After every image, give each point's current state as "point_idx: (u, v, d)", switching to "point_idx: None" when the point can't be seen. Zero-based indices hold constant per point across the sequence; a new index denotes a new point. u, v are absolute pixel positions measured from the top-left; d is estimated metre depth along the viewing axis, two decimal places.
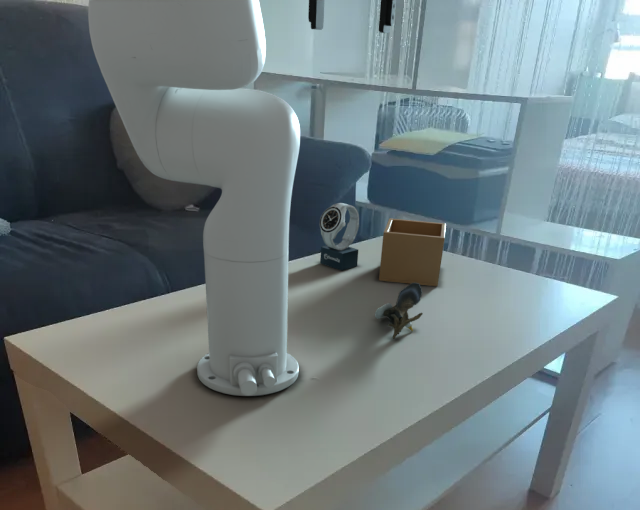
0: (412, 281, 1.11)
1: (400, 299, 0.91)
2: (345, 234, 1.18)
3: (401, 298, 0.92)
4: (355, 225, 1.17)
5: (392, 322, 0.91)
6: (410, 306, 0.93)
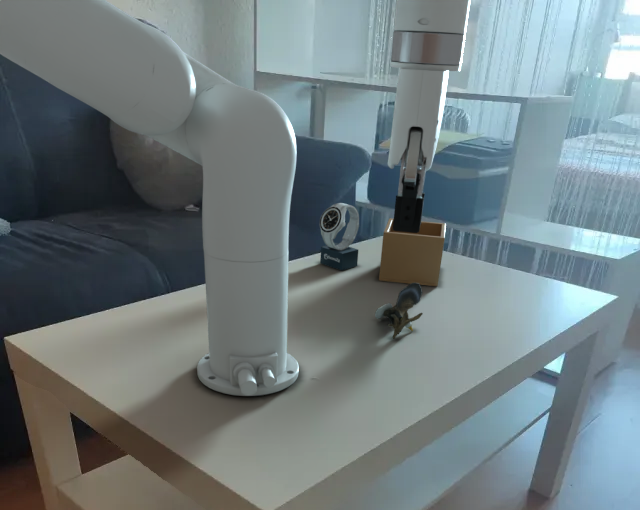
0: (412, 281, 1.11)
1: (400, 299, 0.91)
2: (345, 234, 1.18)
3: (401, 298, 0.92)
4: (355, 225, 1.17)
5: (392, 322, 0.91)
6: (410, 306, 0.93)
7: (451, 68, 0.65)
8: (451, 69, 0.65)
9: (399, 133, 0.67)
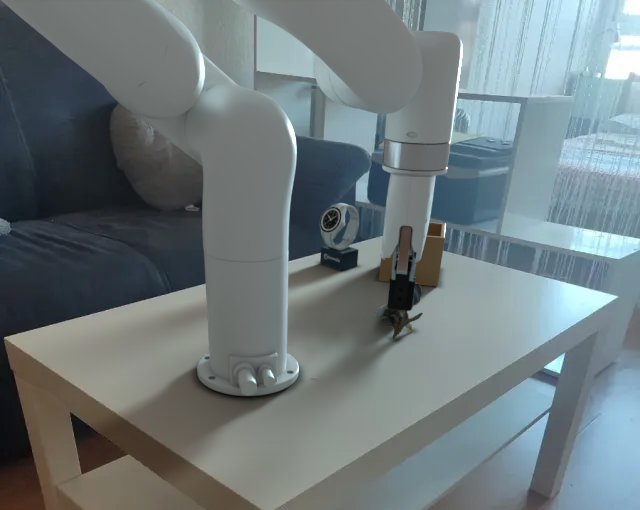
0: None
1: None
2: (345, 234, 1.18)
3: None
4: (355, 225, 1.17)
5: (392, 322, 0.91)
6: None
7: (437, 173, 0.71)
8: (438, 174, 0.71)
9: (391, 231, 0.73)
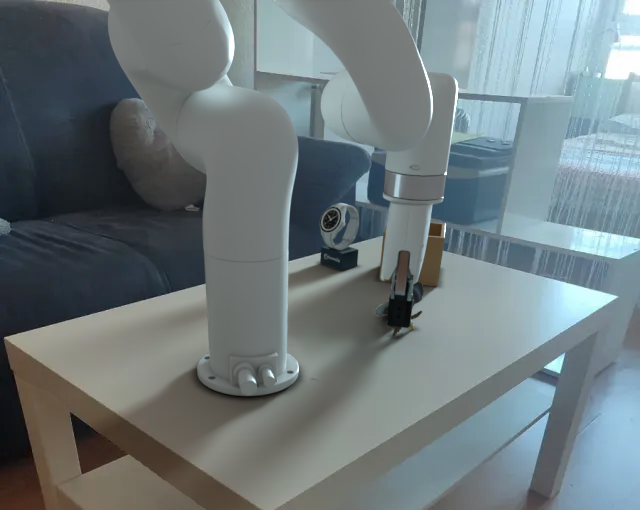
0: None
1: None
2: (345, 234, 1.18)
3: None
4: (355, 225, 1.17)
5: None
6: None
7: (434, 202, 0.76)
8: (434, 203, 0.76)
9: (390, 255, 0.78)
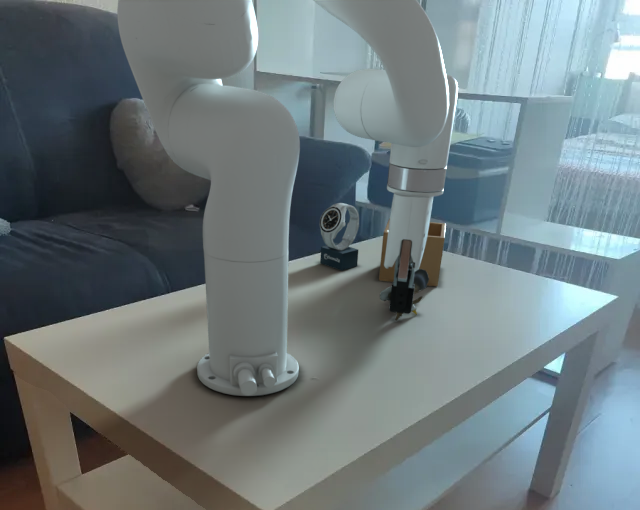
0: None
1: None
2: (345, 234, 1.18)
3: None
4: (355, 225, 1.17)
5: None
6: (416, 291, 0.99)
7: (434, 194, 0.81)
8: (435, 195, 0.81)
9: (393, 243, 0.83)
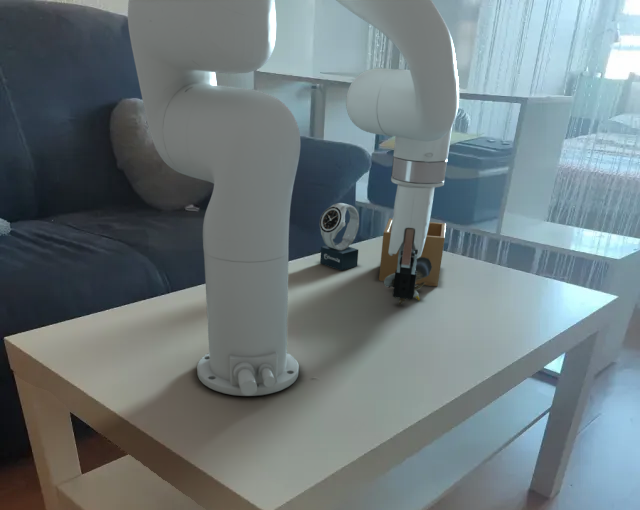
0: None
1: None
2: (345, 234, 1.18)
3: None
4: (355, 225, 1.17)
5: None
6: (419, 278, 1.04)
7: (436, 185, 0.87)
8: (436, 186, 0.87)
9: (397, 232, 0.89)
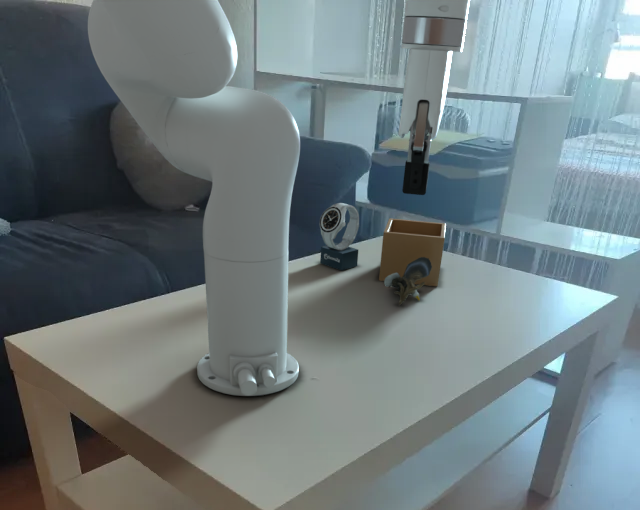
0: None
1: (409, 271, 1.03)
2: (345, 234, 1.18)
3: (410, 270, 1.03)
4: (355, 225, 1.17)
5: (399, 290, 1.02)
6: (419, 278, 1.04)
7: (454, 49, 0.75)
8: (454, 50, 0.75)
9: (409, 105, 0.77)
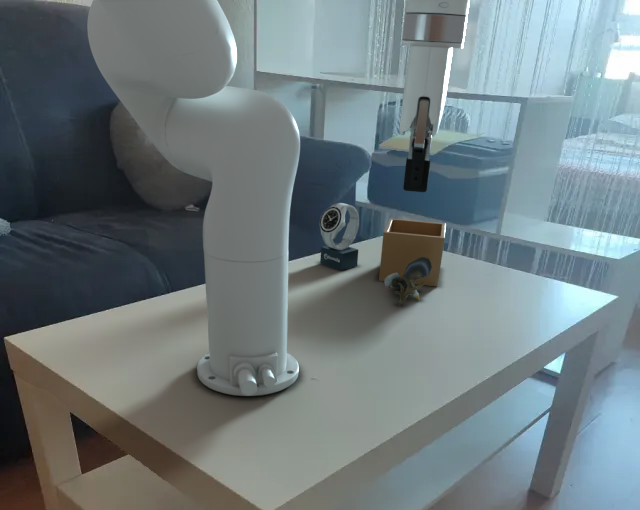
0: None
1: (409, 271, 1.03)
2: (345, 234, 1.18)
3: (410, 270, 1.03)
4: (355, 225, 1.17)
5: (399, 290, 1.02)
6: (419, 278, 1.04)
7: (454, 46, 0.75)
8: (455, 46, 0.75)
9: (409, 102, 0.77)
